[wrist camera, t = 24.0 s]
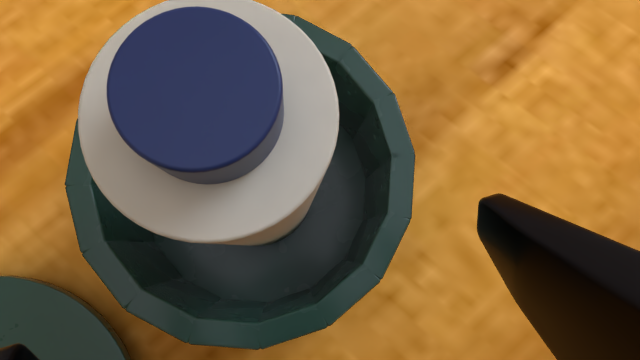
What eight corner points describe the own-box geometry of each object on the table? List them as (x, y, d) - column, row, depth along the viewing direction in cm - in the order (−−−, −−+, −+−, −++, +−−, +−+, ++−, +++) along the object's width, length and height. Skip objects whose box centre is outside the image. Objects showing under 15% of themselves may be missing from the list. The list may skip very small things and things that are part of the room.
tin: (309, 366, 18) (316, 414, 13) (80, 243, 19) (-5, 241, 13) (420, 142, 20) (467, 104, 15) (211, 31, 20) (182, -45, 15)
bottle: (296, 257, 19) (306, 277, 6) (189, 230, 18) (-16, 196, 6) (322, 153, 19) (379, -12, 7) (220, 127, 19) (93, -89, 7)
